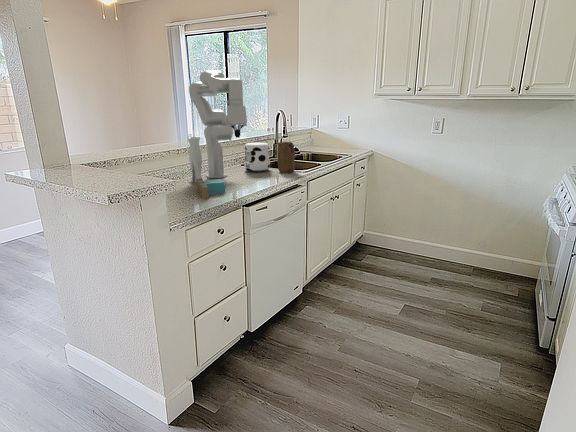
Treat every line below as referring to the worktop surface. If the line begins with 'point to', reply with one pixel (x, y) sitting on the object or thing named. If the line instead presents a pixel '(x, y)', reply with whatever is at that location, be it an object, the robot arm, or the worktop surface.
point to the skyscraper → (195, 159)
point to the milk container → (257, 157)
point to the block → (286, 157)
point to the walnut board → (202, 188)
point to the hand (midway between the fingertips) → (237, 137)
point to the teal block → (215, 186)
